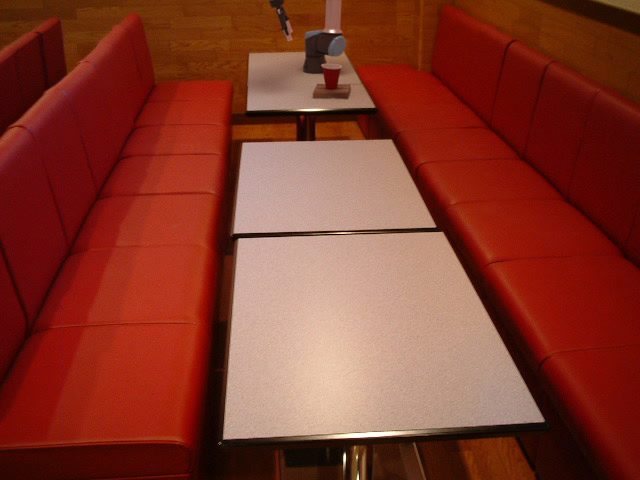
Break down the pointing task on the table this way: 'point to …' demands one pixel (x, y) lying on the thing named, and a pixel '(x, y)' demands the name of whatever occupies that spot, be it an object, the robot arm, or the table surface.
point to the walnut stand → (332, 91)
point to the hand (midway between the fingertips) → (290, 36)
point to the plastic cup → (331, 75)
